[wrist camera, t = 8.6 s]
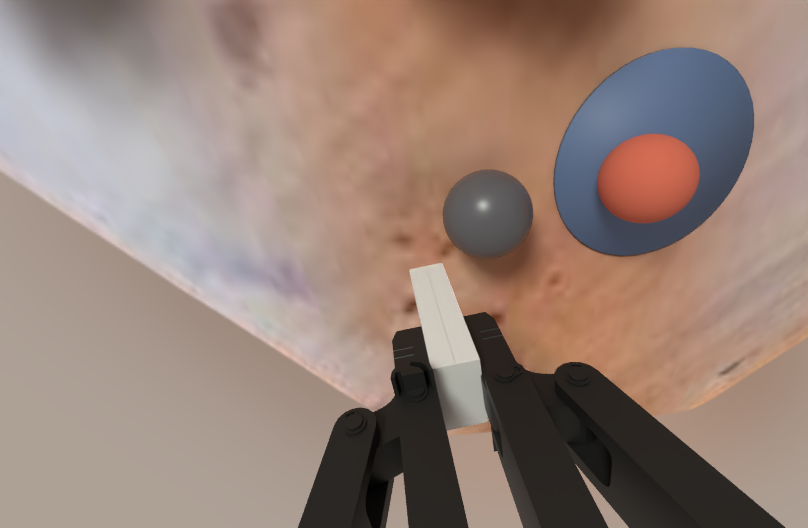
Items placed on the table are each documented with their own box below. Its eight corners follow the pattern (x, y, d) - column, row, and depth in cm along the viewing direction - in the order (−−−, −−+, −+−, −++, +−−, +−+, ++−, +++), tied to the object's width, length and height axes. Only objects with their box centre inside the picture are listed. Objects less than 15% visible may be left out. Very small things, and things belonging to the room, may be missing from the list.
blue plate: (794, 93, 27) (797, 94, 27) (671, 273, 32) (673, 274, 32) (624, 10, 23) (626, 9, 23) (519, 226, 29) (520, 227, 29)
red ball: (569, 163, 28) (639, 144, 28) (594, 239, 27) (663, 218, 28) (622, 130, 22) (706, 108, 23) (653, 224, 22) (737, 199, 23)
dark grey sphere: (411, 216, 25) (448, 185, 29) (462, 286, 25) (491, 247, 29) (480, 169, 21) (511, 141, 25) (538, 253, 22) (559, 213, 26)
